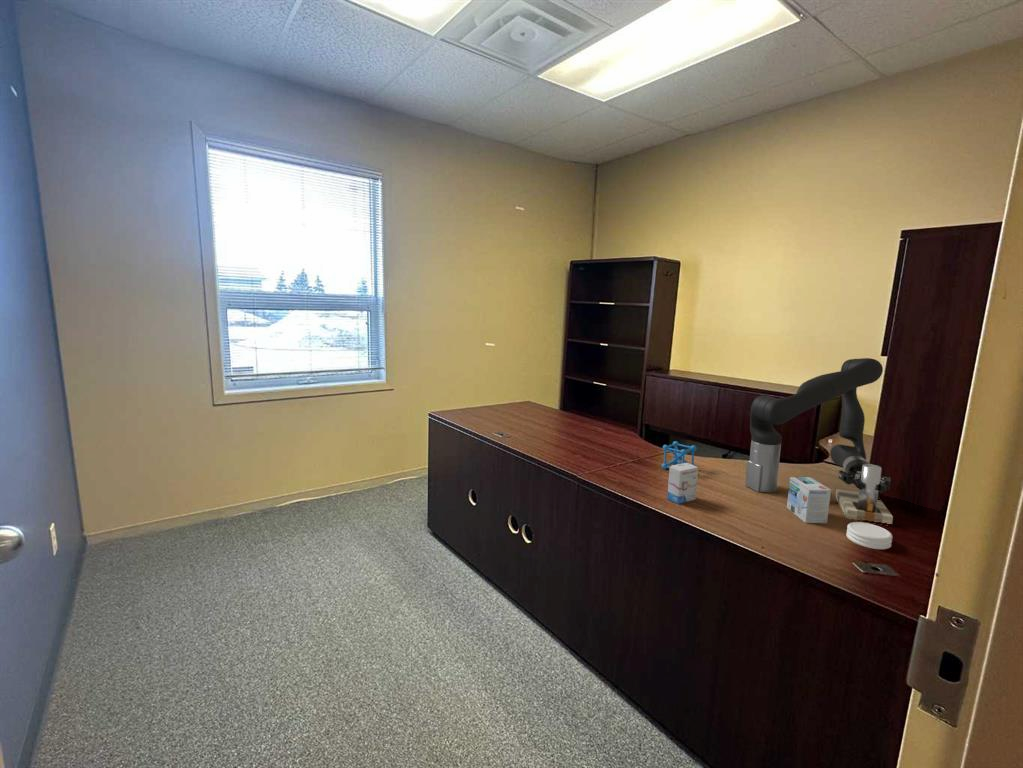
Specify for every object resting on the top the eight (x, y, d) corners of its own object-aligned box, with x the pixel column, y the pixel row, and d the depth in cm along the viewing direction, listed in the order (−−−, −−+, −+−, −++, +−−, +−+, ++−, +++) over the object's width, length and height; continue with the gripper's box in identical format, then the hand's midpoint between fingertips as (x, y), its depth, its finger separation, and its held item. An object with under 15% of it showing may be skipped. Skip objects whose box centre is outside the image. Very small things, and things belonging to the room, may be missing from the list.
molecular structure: (683, 475, 178) (685, 450, 177) (660, 468, 186) (661, 444, 184) (696, 469, 185) (697, 445, 183) (673, 463, 192) (674, 440, 191)
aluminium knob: (878, 515, 139) (884, 471, 137) (860, 512, 141) (865, 469, 139) (873, 507, 144) (879, 465, 142) (855, 505, 146) (860, 463, 144)
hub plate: (891, 526, 137) (893, 516, 137) (846, 518, 142) (847, 509, 141) (875, 503, 153) (876, 494, 153) (835, 497, 158) (836, 488, 157)
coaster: (871, 532, 134) (872, 521, 133) (900, 550, 124) (902, 538, 124) (837, 532, 134) (838, 521, 133) (864, 550, 124) (866, 538, 123)
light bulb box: (785, 508, 150) (789, 476, 148) (807, 508, 149) (810, 476, 148) (805, 523, 139) (809, 489, 137) (828, 523, 139) (832, 489, 137)
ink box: (678, 504, 152) (680, 470, 150) (666, 499, 156) (668, 465, 155) (696, 499, 156) (698, 466, 154) (684, 494, 160) (686, 461, 158)
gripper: (834, 456, 157) (844, 473, 142) (886, 462, 151) (903, 480, 136) (831, 477, 158) (842, 496, 143) (883, 483, 152) (900, 504, 137)
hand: (871, 488), depth 139 cm, fingers closed on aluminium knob, 4 cm apart
